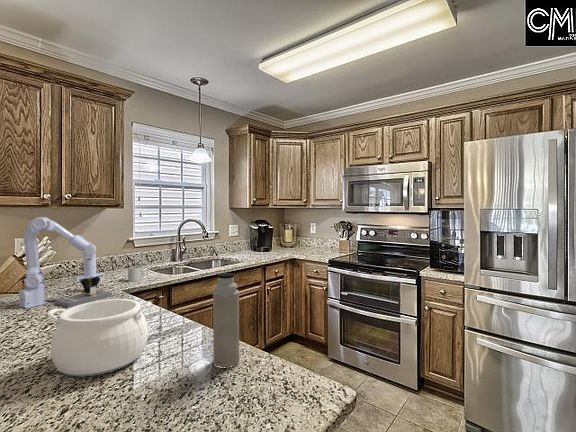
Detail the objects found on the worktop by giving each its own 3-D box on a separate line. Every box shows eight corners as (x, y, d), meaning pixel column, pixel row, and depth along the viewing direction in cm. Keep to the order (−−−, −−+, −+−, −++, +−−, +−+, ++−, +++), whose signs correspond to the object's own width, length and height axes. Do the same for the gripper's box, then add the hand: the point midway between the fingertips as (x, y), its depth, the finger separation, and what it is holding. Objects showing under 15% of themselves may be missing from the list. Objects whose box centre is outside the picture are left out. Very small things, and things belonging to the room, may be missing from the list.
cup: (126, 280, 210) (126, 267, 210) (142, 278, 217) (142, 265, 216) (129, 282, 205) (129, 269, 204) (146, 280, 211) (145, 267, 211)
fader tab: (90, 295, 167) (90, 286, 166) (84, 294, 169) (84, 285, 169) (96, 293, 169) (96, 285, 169) (90, 292, 172) (90, 284, 172)
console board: (68, 307, 154) (68, 303, 154) (55, 304, 160) (55, 299, 160) (111, 296, 174) (111, 292, 173) (98, 293, 179) (98, 289, 179)
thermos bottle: (208, 363, 99) (207, 274, 98) (228, 354, 105) (227, 270, 104) (224, 371, 94) (224, 277, 93) (244, 361, 100) (244, 273, 99)
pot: (27, 390, 84) (26, 326, 84) (66, 348, 110) (65, 299, 109) (145, 374, 92) (145, 316, 92) (156, 338, 118) (156, 292, 117)
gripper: (80, 270, 160) (80, 296, 161) (107, 265, 173) (108, 289, 174) (72, 268, 164) (72, 294, 164) (99, 264, 177) (100, 288, 177)
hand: (90, 292), depth 169 cm, fingers closed on fader tab, 3 cm apart
